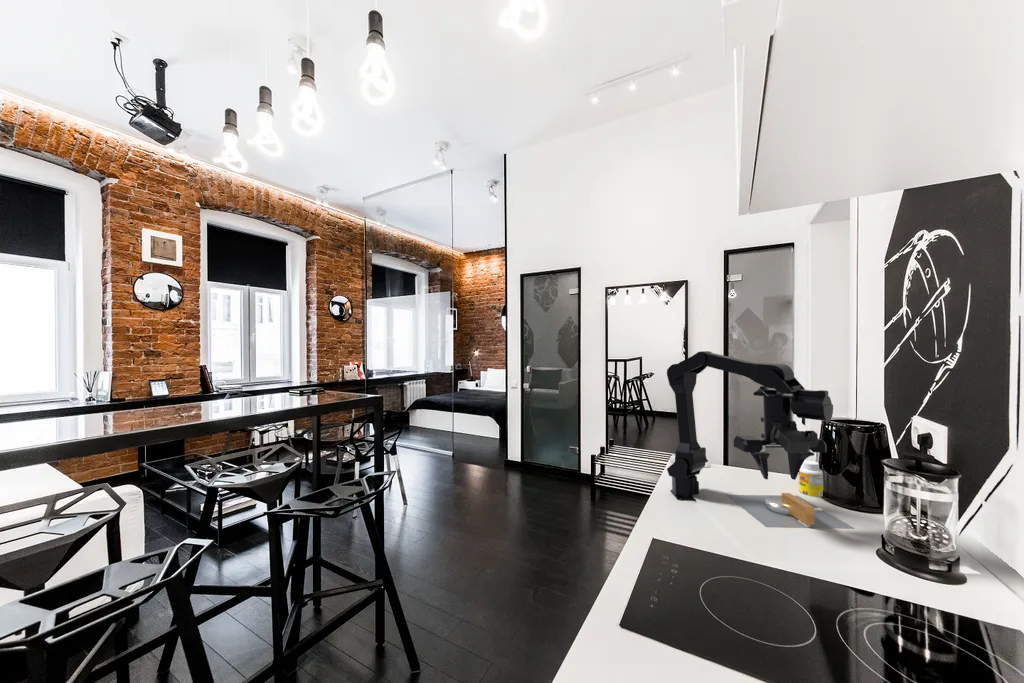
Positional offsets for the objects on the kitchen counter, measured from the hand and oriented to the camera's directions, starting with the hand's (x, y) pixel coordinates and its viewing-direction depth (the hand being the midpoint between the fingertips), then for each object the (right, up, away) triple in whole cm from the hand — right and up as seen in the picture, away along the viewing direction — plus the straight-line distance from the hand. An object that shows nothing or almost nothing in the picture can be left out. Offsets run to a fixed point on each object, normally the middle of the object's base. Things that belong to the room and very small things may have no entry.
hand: (779, 479), depth 93 cm
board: (+6, -12, +7) cm, 15 cm away
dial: (+6, -11, +4) cm, 13 cm away
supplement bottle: (+22, -12, +18) cm, 31 cm away
